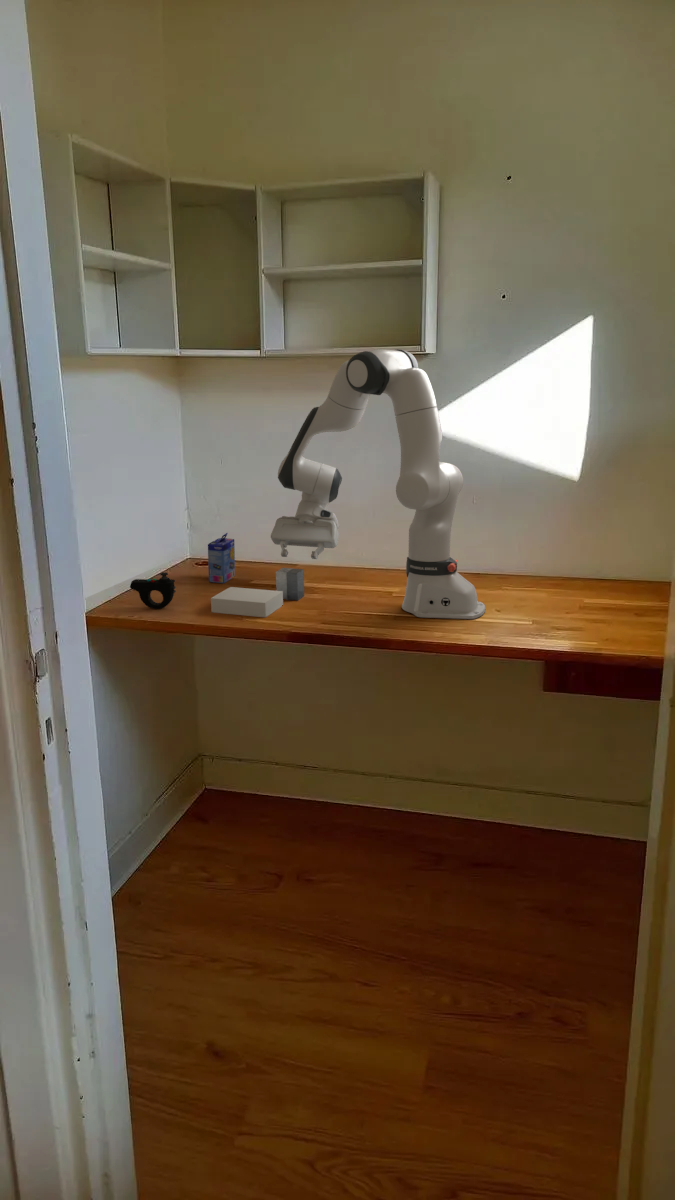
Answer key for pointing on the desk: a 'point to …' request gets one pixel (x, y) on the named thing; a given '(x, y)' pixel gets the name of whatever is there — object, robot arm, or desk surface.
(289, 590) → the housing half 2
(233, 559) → the ink cartridge box
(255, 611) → the stand
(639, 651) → the desk surface
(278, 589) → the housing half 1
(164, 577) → the controller
